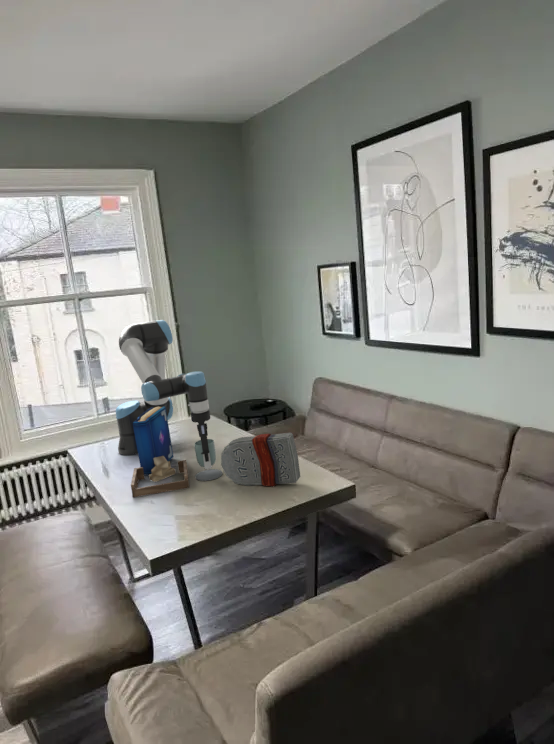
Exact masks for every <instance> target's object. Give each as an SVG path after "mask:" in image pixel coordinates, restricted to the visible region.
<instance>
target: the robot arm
mask: <svg viewBox="0 0 554 744" xmlns="http://www.w3.org/2000/svg"><path fill="white" fill-rule="evenodd" d="M173 340H174V339H173V333H172V330H171V328H170V326H169V323H168V322H167V321H166V320H164V319H160V320H156V319H155V320H151V321H150V320H149V321H144V322H139V323H137V322H136V323H131V324H129V325H128V326H126V327H125V328H123V330H122V331H121V333H120V335H119V339H118V347H119V350H120V352H121V353H122V355H123V356H125V357H127V359H128V360H129V363H130V364H131V365H132V368H133V369H134V371H135V373H136V374H137V376H138V378H139V380H140V381H141V383H142V384H141V387H140V391H141V395H142V398H143V400H144V401H143V402H140V401H139V400H137V399H136V400H128V401H126V402H123V403H121V404H119V405H118V406H117V407H116V408H115V419H116V422H117V428H118V434H119V439H118V440H119V441H118V445H117V451H118V454H119V455H121V454H123V456H131V455H136V454H137V455H138V451H137V445H136V440H135V434H134V428H133V422H134V421H135V420H137V419H138V417H139V416H140V415H141V414H142V413H144V412H145V411H146V410H148V409H150V408H151V407H154V408H155V407H158V406H159V407H163V406H165V407H166V413H167V419H168V421H170V420H171V418H172V417H173V413H174V406H173V401H172V399H171V398H172V397H176V396H181V395H186V394H187V397H188V404H187V406H188V407H189V410H190V418H191V422H192V423H197V424H196V428H197V432H198V437H199V438H200V440H201V443H202V450H203V452H202V453H201V454H203V460H204V467H203V468H204V470H209V469H213V468H212V467H213V466H211V460H210V453H209V447H208V440H207V439H208V424H207V423H206V422H208V421H209V420H210V419H211V413H210V412H211V411H210V410H209V409H210V404H209V403H210V402H209V398H208V391H207V389H208V388H207V380H206V378H205V373H204V372H203V371H199V370H198V371H197V370H196V371H190V372H188V373H180V374H178V375H177V376H173V377H168V378H166V364H165V363H166V360H165V359H166V352H167V351H168V349H169V346H170V345H171V344H173ZM204 450H205V451H204Z"/></svg>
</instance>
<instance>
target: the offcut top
mask: <svg viewBox="0 0 554 744" xmlns="http://www.w3.org/2000/svg"><path fill="white" fill-rule="evenodd" d="M154 464H155V466H156V467H157V469H158V470H160V469H164V468H168V461H167V460H166V459H165V457H164V456H160V457H155V458H154Z"/></svg>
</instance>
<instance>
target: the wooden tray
mask: <svg viewBox="0 0 554 744" xmlns="http://www.w3.org/2000/svg"><path fill="white" fill-rule="evenodd" d="M177 467H178V469H177V470H178V474H183V477H184V480H177V481H176V480H175V481H171V482H163V483H160V484H159V483H158V484H154V485H153V484H152V485H147V486H146V485H145V486H142V487H138V486H139V482H140V481H143V480H145V479H146V477H145V476H146V475H144V470H143V467H135V468H133V472H132V477H131V482H130V488H131V495H132V498H137V497H138V498H139V497H143V496H149V495H155V494H161V493H166V492H167V493H168V492H171V491H172V492H173V491H178V490H183V489H189V488H190V482H189V480H190V479H189V471H188V470H189V469H188V463H187V459H183V460H178V461H177Z"/></svg>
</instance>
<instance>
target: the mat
mask: <svg viewBox="0 0 554 744" xmlns="http://www.w3.org/2000/svg"><path fill="white" fill-rule="evenodd" d="M222 475H223V470H221V469H216V468H210V469H204V470H201V471H199V472H197V473H196V474H195V475H194V477H195V480H197V481H200V482H207V481H214V480H217V479H219V478H221V476H222Z"/></svg>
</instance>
